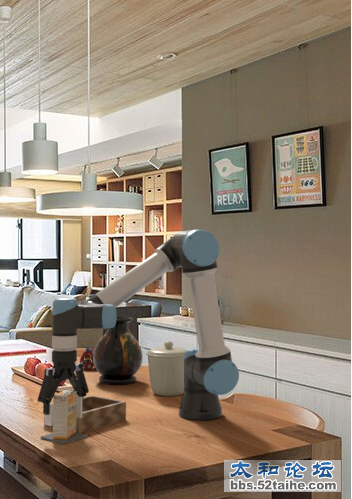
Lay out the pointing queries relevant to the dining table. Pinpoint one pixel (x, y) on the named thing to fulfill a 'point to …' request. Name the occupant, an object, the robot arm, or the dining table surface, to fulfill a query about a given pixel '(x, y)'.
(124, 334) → the black painted vase
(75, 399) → the supplement box
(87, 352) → the toy fire truck
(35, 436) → the dining table surface
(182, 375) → the canister
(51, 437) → the mat
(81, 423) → the crate
